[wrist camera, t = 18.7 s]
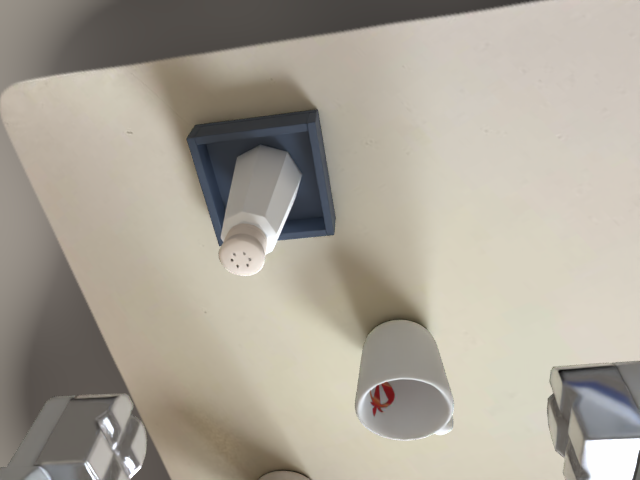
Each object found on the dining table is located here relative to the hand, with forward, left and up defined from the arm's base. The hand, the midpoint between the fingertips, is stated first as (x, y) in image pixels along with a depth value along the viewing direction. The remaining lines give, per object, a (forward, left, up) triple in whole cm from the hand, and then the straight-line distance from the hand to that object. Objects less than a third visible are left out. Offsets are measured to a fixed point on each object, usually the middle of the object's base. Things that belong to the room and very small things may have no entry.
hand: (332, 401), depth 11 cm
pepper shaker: (+12, -1, -31) cm, 33 cm away
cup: (+24, +17, -31) cm, 43 cm away
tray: (+12, -1, -31) cm, 34 cm away
